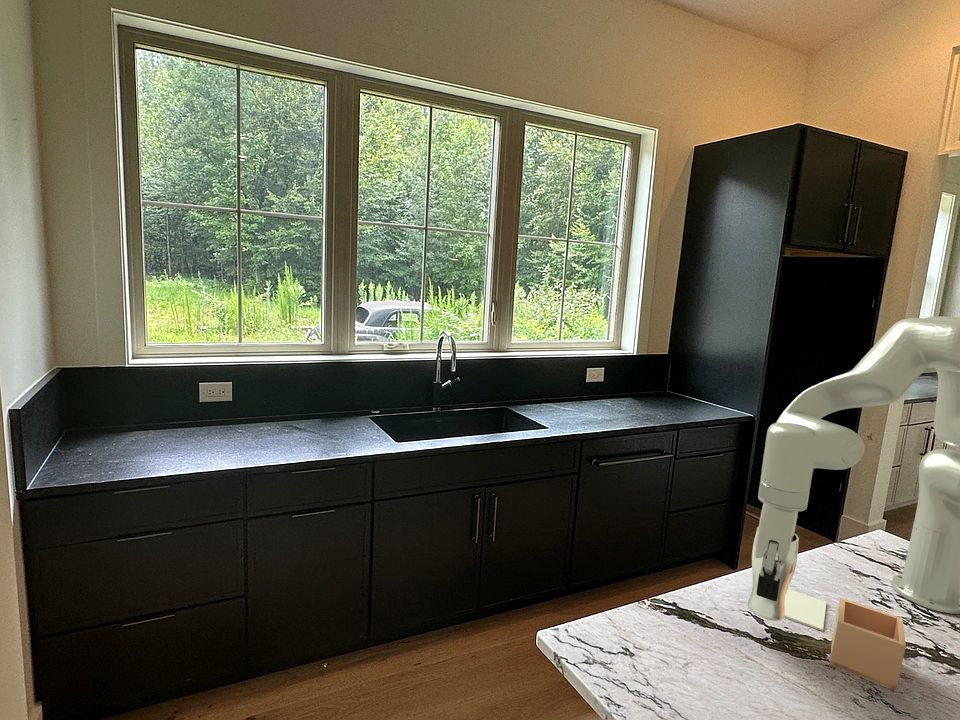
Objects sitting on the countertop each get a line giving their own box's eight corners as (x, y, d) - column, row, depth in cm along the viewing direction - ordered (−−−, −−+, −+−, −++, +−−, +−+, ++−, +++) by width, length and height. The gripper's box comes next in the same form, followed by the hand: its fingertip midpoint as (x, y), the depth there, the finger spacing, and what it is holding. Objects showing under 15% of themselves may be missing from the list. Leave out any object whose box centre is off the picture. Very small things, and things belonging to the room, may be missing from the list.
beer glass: (793, 625, 95) (806, 545, 92) (750, 618, 96) (762, 539, 94) (780, 601, 102) (792, 526, 99) (740, 595, 103) (750, 521, 100)
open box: (832, 637, 99) (839, 597, 98) (893, 660, 94) (902, 618, 93) (829, 665, 92) (837, 622, 91) (896, 691, 87) (905, 645, 86)
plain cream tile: (765, 583, 116) (765, 581, 116) (826, 603, 110) (826, 602, 110) (757, 607, 107) (757, 605, 107) (822, 631, 101) (823, 629, 101)
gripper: (766, 474, 104) (754, 561, 107) (751, 504, 90) (737, 603, 93) (812, 484, 100) (798, 574, 103) (803, 518, 86) (787, 621, 89)
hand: (769, 587), depth 98 cm, fingers closed on beer glass, 6 cm apart
